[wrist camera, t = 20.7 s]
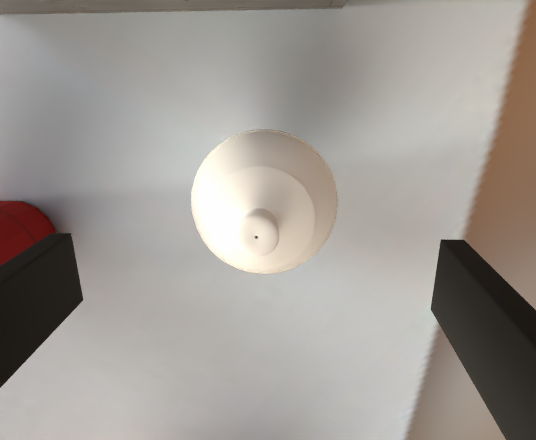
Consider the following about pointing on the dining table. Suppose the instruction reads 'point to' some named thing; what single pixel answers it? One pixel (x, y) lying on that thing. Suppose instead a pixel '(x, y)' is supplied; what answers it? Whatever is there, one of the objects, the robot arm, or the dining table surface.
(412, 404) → the dining table surface
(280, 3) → the dark grey square box
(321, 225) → the spinning top
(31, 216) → the plastic cup
